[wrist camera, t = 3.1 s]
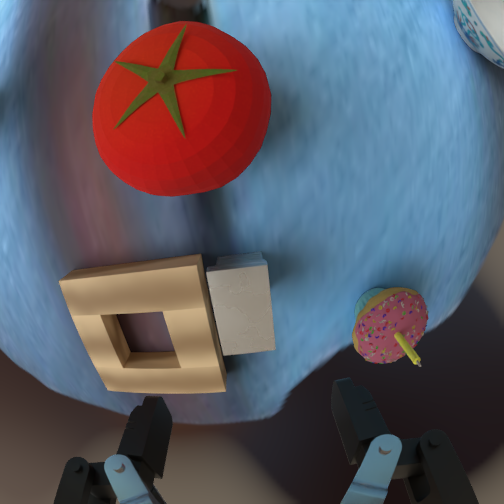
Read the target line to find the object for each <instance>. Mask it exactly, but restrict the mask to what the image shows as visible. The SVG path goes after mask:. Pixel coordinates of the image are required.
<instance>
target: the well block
mask: <svg viewBox="0 0 504 504" xmlns="http://www.w3.org/2000/svg"><path fill="white" fill-rule="evenodd" d="M59 283H60V286H61V289H62V292H63V295H64V298H65V300H66V303H67V306H68V308H69V311H70V313H71V316H72V318H73V321H74V323H75V325H76V328H77V330H78V332H79V335H80V337H81V339H82V341H83V343H84V345H85V348H86V350H87V352H88V354H89V356H90V358H91V360H92V362H93V364H94V366H95V367H96V369H97V371H98V373H99V375H100V377H101V378H102V380H103V382H104V384H105V386H106V387H107V389H108V390H110V391H121V392H137V393H212V392H226V377H227V373H226V369H225V365H224V361H223V357H222V352H221V348H220V344H219V339H218V335H217V330H216V326H215V321H214V317H213V312H212V307H211V302H210V297H209V292H208V287H207V282H206V277H205V272H204V267H203V261H202V256H201V254H195V255H187V256H179V257H171V258H163V259H155V260H148V261H140V262H132V263H125V264H117V265H109V266H102V267H94V268H86V269H79V270H73V271H71V272H70V273H69V274H67V275H66V276H65V277H63V278H62V279H61V280H59ZM158 311H163V314H164V317H165V321H166V324H167V327H168V330H169V333H170V336H171V340H172V343H173V346H174V349H175V351H171V352H131V351H130V349H129V347H128V344H127V342H126V339H125V337H124V334H123V332H122V329H121V327H120V324H119V321H118V319H117V316H116V314H127V313H144V312H158Z"/></svg>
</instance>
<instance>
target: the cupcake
mask: <svg viewBox="0 0 504 504" xmlns="http://www.w3.org/2000/svg"><path fill="white" fill-rule="evenodd" d="M423 299H424V298H422V296H421V295H420V294H419V293H418V292H417V291H415V290H412V289H408V288H402V287H393V288H388V289H384V288H374V289H371V290H369V291H367V292H365V293H364V294H363V295H362V296H361V297H360V298H359V300H358V302H357V304H356V306H355V312H354V313H355V319H356V323H355V326H354V329H353V332H352V338H353V342H354V347H355V349H356V350H357V352H359V354H361V355H362V356H363V357H364V358H365V360H366V361H370V362H372V363H375V364H377V363H381V364H383V363H391V362H392V361H396V360H397V359H399V358H401V357H403V356H404V355H406V354H407V355H408V356H409V357H410V359H411V360H412V362H413V363H414V364H418V366H419V367H421V364H420V357H419V356H418V355H417V354H416V352H415V351H414V350H413V348H414V347H415V346H416V345H417V344H418V343H419V340H420V338H421V337H422V336H423V335H424V331H425V327H426V326H427V325H426V324H427V320H428V311H427V308H426V306H427V305H425V302H424V300H423Z"/></svg>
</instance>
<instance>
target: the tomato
mask: <svg viewBox="0 0 504 504" xmlns="http://www.w3.org/2000/svg"><path fill="white" fill-rule="evenodd" d="M270 114H271V92H270V88H269V84H268V81H267V77H266V73H265V71H264V70H263V68H262V66H261V64H260V62H259V61H258V59H257V58H256V57H255V55H254V54H253V53H252V52H251V51H250V50H249V49H248V48H247V47H246V46H245V45H243V44H242V43H241V42H239V41H238V40H236V39H235V38H234V37H232V36H230V35H228V34H226V33H225V32H223V31H221V30H219V29H217V28H215V27H213V26H210V25H206V24H203V23H199V22H189V21H179V22H174V23H169V24H165V25H162V26H160V27H157V28H155V29H153V30H151V31H149V32H147V33H145V34H143V35H142V36H140V37H139V38H137V39H136V40H135V41H133V42H132V43H131V44H130V45H129V46H128V47H127V48H125V49H124V50H123V51H122V52H121V53H120V55H119V56H118V57H117V58H116V59H115V61H114V62H113V63H112V64H111V65H110V67H109V68H108V70H107V72H106V73H105V75H104V76H103V78H102V80H101V82H100V85H99V87H98V90H97V92H96V95H95V101H94V108H93V114H92V117H93V132H94V137H95V142H96V146H97V148H98V151H99V154H100V156H101V158H102V160H103V161H104V162H105V164H106V165H107V166H108V168H109V169H110V170H111V171H112V172H113V173H114V174H115V175H116V176H117V177H119V178H120V179H121V180H122V181H124V182H125V183H127V184H128V185H130V186H132V187H134V188H135V189H137V190H140V191H143V192H146V193H149V194H152V195H158V196H180V195H188V194H194V193H201V192H206V191H209V190H213V189H216V188H220V187H222V186H224V185H225V184H227V183H229V182H230V181H232V180H234V179H235V178H237V177H238V176H239V175H240V174H241V173H242V172H243V171H244V170H245V169H246V168H247V167H248V166H249V165H250V164H251V162H252V161H253V159H254V157H255V156H256V154H257V153H258V151H259V150H260V148H261V146H262V143H263V140H264V137H265V134H266V131H267V128H268V123H269V118H270Z"/></svg>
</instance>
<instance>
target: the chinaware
mask: <svg viewBox="0 0 504 504" xmlns="http://www.w3.org/2000/svg"><path fill="white" fill-rule="evenodd" d="M453 8H454V13H455V15H454V23H455V26H456V28H457V30H458V32H459V34H460V35H461V37H462V38H463V40H464V41H465V42H466V44H467V45H468V46H469V47H470V48H471V49H473V50H474V51H475V52H477V53H481V54H482V55H483V56H484V57H485V58H487V59H488V60H489V61H491V62H492V63H494V64H495V65H497V66H499V67H501V68H503V69H504V1H503V0H453Z"/></svg>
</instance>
